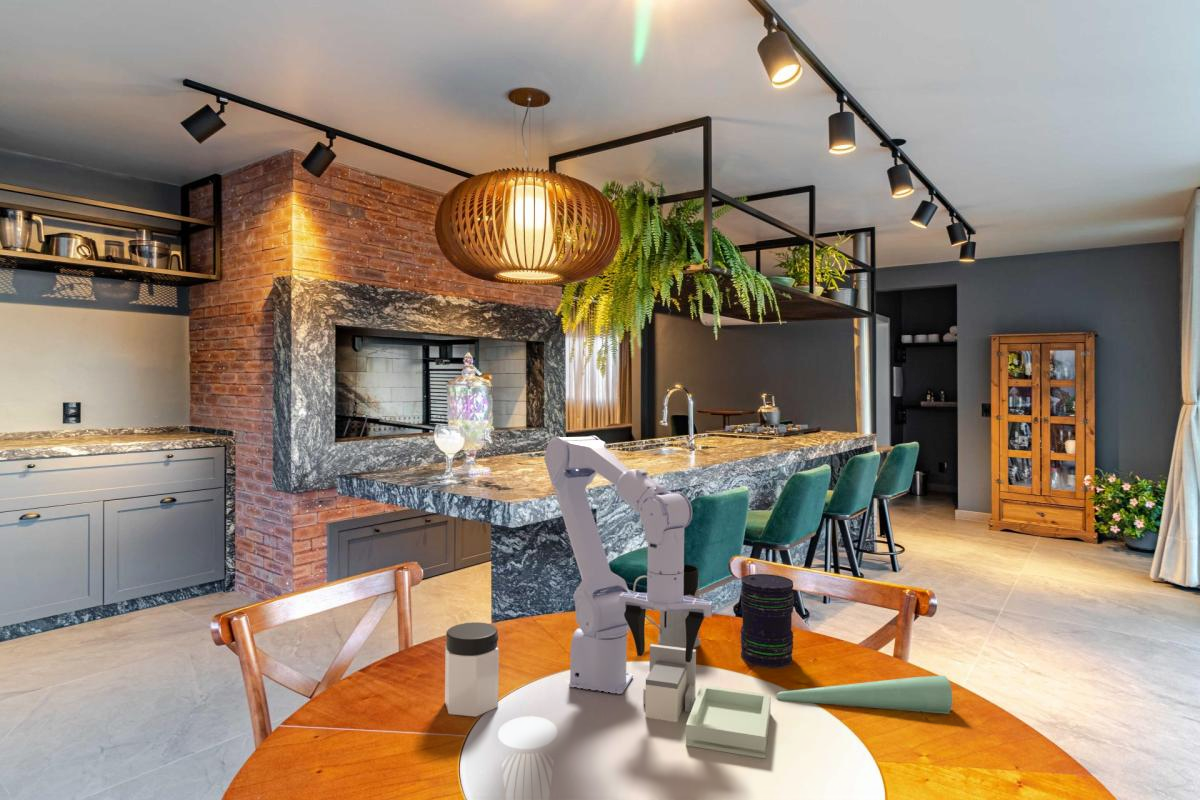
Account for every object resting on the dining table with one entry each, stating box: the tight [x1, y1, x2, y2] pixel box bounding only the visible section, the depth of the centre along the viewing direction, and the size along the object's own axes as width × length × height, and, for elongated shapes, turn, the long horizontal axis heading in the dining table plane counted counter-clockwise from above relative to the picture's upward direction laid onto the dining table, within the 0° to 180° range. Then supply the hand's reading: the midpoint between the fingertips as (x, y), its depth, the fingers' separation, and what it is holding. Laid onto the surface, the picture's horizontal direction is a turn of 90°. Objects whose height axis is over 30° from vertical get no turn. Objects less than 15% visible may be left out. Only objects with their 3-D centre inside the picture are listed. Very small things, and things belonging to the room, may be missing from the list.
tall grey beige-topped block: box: [644, 661, 687, 723], centre depth 107 cm, size 5×8×6 cm, turn 163°
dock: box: [642, 643, 697, 713], centre depth 110 cm, size 8×5×8 cm
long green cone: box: [775, 675, 953, 715], centre depth 110 cm, size 5×6×27 cm
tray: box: [685, 684, 772, 760], centre depth 101 cm, size 11×14×3 cm
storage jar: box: [739, 573, 795, 669], centre depth 129 cm, size 10×10×15 cm
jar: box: [444, 621, 500, 718], centre depth 108 cm, size 9×8×12 cm
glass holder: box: [632, 563, 702, 649], centre depth 137 cm, size 9×14×15 cm, turn 102°
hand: (664, 656), depth 105 cm, fingers open, 7 cm apart
